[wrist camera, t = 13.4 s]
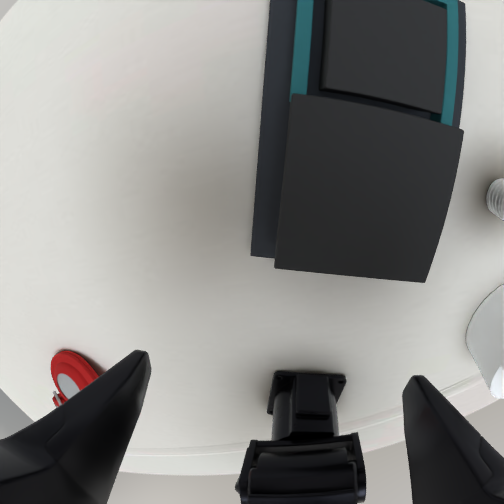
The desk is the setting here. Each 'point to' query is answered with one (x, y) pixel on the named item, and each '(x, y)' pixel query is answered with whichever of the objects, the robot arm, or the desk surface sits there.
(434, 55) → the black block
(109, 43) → the desk surface
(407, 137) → the black teal stepped tray
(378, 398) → the desk surface
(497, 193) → the lightbulb
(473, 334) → the base with upright slab
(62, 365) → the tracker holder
